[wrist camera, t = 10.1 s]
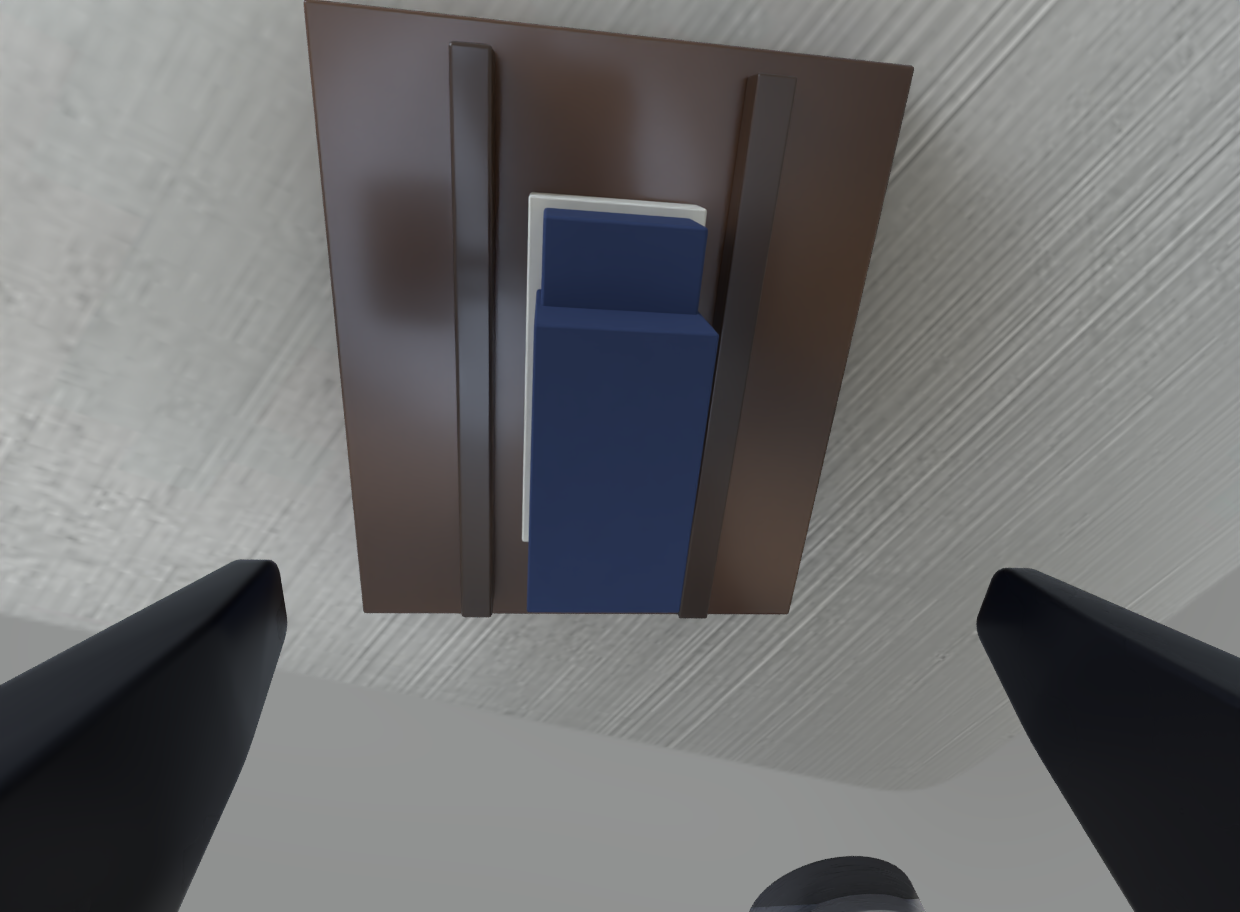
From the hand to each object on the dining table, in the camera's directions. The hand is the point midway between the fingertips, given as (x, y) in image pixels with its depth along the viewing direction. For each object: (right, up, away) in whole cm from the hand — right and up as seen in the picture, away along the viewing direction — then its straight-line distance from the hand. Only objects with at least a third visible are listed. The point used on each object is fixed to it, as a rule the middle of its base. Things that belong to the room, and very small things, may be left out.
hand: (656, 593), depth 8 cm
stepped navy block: (-1, +4, +8) cm, 8 cm away
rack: (-1, +4, +9) cm, 10 cm away
